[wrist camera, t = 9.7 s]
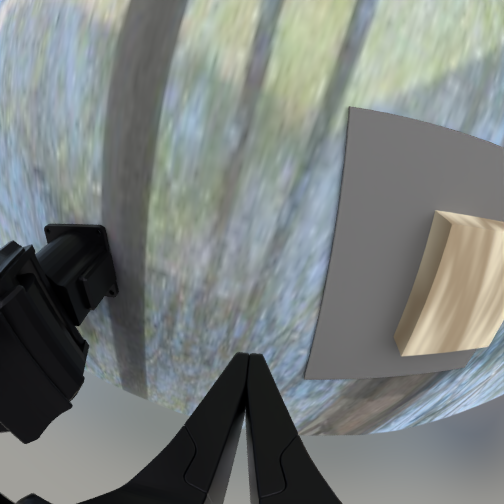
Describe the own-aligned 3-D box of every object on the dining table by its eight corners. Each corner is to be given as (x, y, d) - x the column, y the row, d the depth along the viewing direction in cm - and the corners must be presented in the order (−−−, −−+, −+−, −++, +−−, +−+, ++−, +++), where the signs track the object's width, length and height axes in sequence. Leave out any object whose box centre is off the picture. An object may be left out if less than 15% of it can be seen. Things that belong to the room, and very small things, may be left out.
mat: (304, 377, 27) (304, 379, 27) (349, 106, 16) (350, 106, 16) (463, 365, 26) (464, 367, 26) (543, 165, 15) (545, 166, 15)
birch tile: (401, 356, 22) (488, 346, 21) (452, 224, 16) (538, 238, 15) (393, 336, 24) (478, 330, 23) (435, 210, 18) (522, 225, 18)
